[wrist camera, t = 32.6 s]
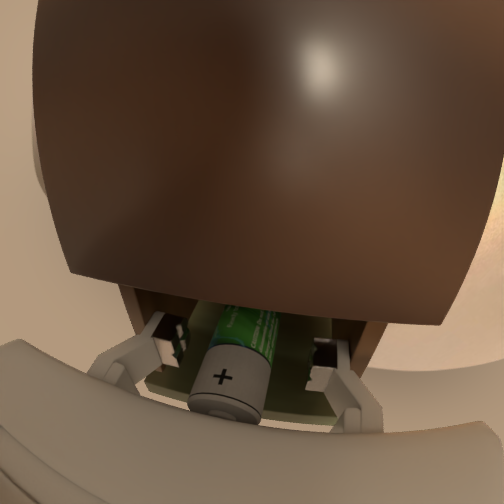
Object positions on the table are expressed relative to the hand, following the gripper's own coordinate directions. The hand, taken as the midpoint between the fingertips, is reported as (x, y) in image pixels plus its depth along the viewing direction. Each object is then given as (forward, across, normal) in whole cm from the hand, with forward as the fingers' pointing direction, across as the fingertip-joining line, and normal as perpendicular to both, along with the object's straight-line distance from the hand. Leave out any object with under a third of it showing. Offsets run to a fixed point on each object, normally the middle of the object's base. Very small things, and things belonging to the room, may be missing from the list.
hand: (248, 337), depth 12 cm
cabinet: (+7, 0, -11) cm, 13 cm away
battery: (+5, 0, 0) cm, 5 cm away
